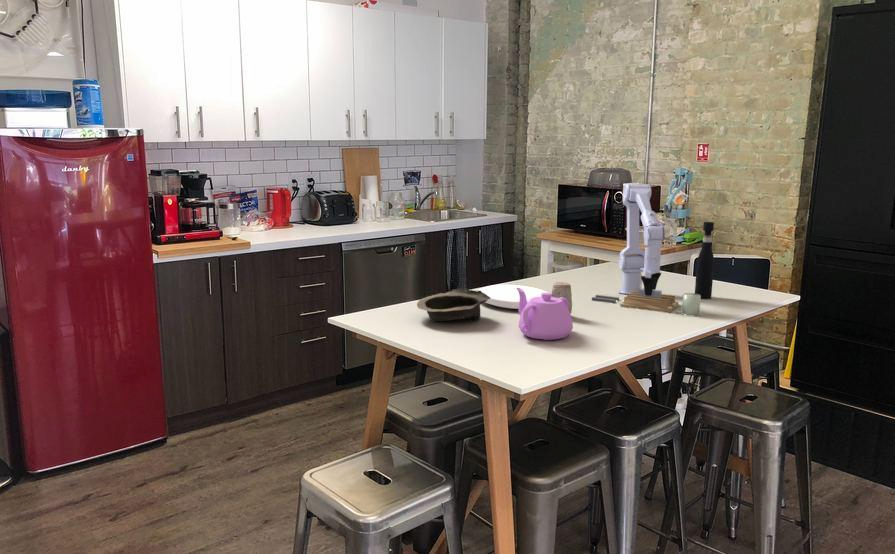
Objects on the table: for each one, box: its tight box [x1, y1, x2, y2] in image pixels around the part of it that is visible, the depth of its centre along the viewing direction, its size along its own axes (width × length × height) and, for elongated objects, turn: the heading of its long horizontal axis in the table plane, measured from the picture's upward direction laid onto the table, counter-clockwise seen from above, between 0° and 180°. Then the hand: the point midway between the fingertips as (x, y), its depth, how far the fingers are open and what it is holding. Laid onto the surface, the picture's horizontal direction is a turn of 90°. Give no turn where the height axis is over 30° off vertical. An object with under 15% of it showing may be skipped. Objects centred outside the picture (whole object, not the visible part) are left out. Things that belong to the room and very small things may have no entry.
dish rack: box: [619, 291, 679, 313], centre depth 272 cm, size 15×18×4 cm
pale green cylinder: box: [681, 292, 702, 316], centre depth 260 cm, size 6×6×7 cm
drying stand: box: [591, 294, 620, 304], centre depth 281 cm, size 6×9×1 cm
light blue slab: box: [639, 287, 663, 299], centre depth 272 cm, size 2×8×5 cm, turn 65°
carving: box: [551, 281, 573, 315], centre depth 254 cm, size 6×8×12 cm
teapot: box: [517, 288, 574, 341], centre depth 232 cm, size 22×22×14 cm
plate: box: [477, 284, 549, 310], centre depth 273 cm, size 28×6×27 cm
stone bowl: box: [416, 288, 490, 322], centre depth 249 cm, size 25×25×9 cm
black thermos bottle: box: [694, 221, 715, 300], centre depth 284 cm, size 6×6×30 cm
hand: (650, 293), depth 272 cm, fingers open, 7 cm apart
